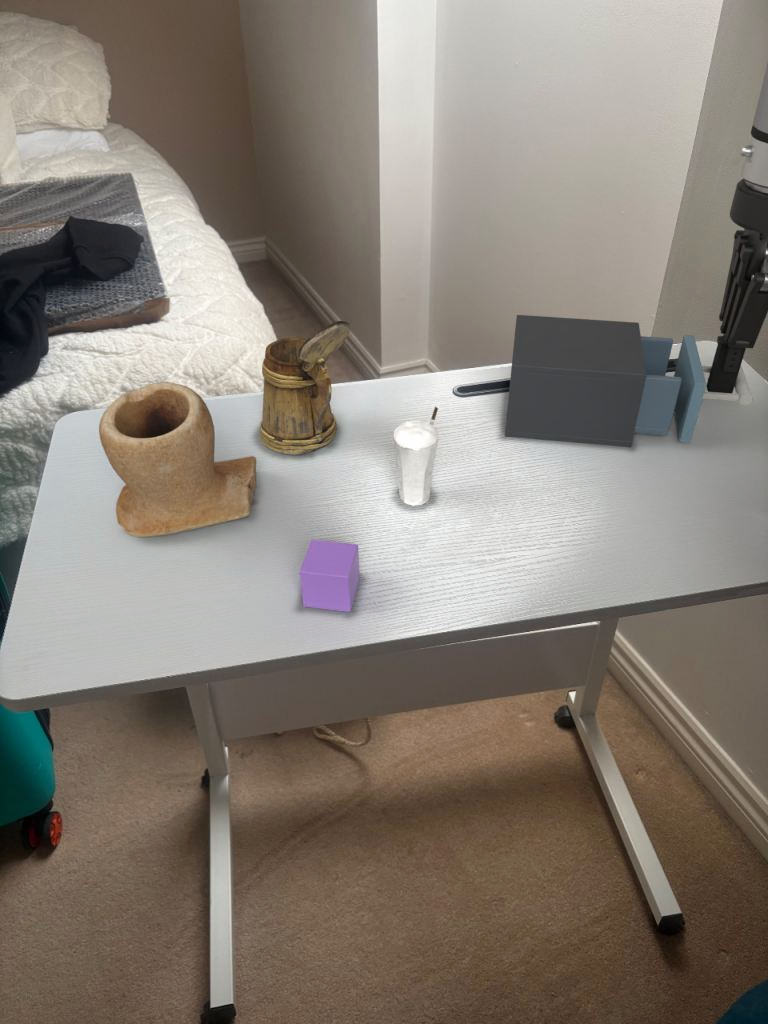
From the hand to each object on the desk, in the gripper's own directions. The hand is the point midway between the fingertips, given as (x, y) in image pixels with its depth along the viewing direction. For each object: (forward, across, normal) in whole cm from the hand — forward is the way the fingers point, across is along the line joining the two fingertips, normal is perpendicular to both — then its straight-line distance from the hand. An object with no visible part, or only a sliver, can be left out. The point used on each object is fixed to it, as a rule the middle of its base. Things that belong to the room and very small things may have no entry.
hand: (719, 389), depth 97 cm
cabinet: (+5, 0, -17) cm, 18 cm away
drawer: (+4, 0, -7) cm, 8 cm away
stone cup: (+5, +26, -56) cm, 62 cm away
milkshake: (+5, +19, -33) cm, 38 cm away
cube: (+5, +35, -39) cm, 52 cm away
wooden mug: (+5, +11, -47) cm, 48 cm away
